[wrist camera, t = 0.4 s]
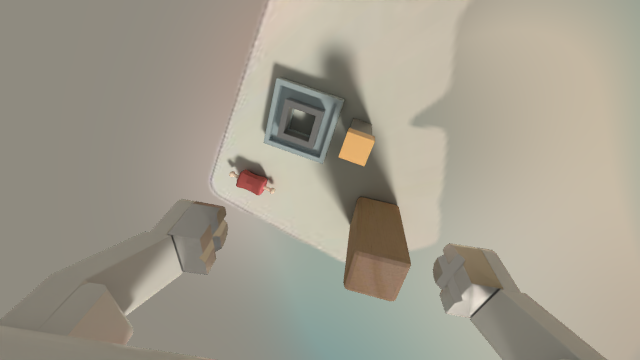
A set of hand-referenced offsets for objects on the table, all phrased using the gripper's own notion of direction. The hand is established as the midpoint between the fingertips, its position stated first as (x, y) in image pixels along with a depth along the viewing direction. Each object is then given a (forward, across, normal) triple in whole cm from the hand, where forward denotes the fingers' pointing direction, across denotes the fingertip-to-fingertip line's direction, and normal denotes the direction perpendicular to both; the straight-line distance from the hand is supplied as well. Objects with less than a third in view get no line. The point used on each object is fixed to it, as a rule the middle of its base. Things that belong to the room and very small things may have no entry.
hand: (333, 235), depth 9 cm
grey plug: (+43, -6, +13) cm, 46 cm away
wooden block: (+40, -14, +33) cm, 54 cm away
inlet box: (+45, +6, +14) cm, 47 cm away
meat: (+44, +16, +31) cm, 56 cm away
